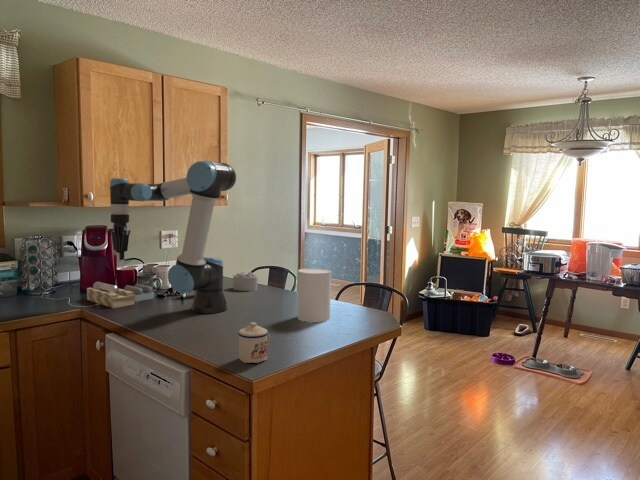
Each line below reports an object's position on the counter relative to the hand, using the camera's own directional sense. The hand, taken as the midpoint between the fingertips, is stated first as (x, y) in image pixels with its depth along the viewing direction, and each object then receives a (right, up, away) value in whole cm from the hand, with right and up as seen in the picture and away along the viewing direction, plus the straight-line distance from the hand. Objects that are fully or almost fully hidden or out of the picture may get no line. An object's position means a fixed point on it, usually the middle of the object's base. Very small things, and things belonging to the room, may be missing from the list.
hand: (120, 266), depth 216 cm
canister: (+86, -21, -14) cm, 90 cm away
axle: (-11, -12, +10) cm, 19 cm away
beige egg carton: (-8, -17, +8) cm, 20 cm away
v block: (+2, -16, +17) cm, 23 cm away
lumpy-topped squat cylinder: (+49, -15, +44) cm, 68 cm away
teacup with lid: (+69, -25, -64) cm, 97 cm away
